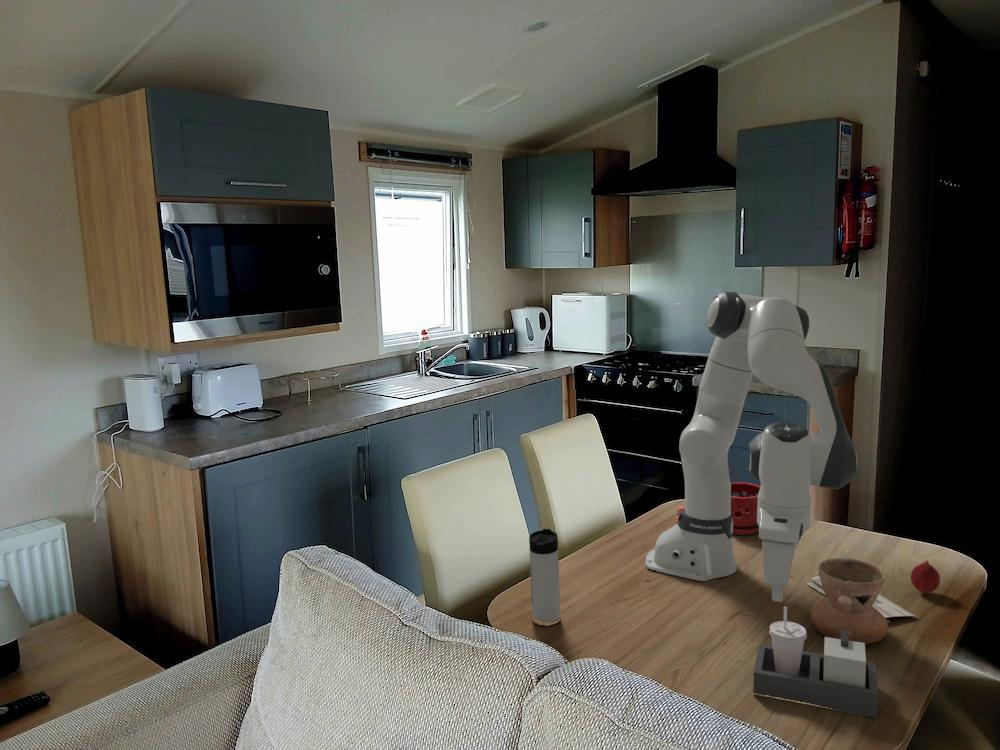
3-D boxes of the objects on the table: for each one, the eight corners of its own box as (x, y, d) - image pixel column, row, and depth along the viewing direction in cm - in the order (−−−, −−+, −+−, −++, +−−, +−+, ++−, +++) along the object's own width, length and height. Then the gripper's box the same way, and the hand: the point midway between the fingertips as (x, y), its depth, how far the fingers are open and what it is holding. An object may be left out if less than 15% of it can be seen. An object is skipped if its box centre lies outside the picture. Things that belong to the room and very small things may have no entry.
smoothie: (762, 669, 142) (763, 600, 140) (795, 666, 143) (796, 597, 140) (778, 689, 136) (779, 617, 133) (812, 685, 136) (814, 613, 134)
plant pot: (719, 519, 222) (720, 480, 220) (767, 523, 217) (767, 483, 215) (713, 535, 210) (713, 494, 208) (763, 540, 205) (764, 498, 203)
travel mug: (563, 614, 169) (561, 529, 166) (556, 628, 163) (553, 540, 160) (537, 611, 171) (533, 527, 168) (528, 625, 165) (525, 538, 162)
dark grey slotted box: (753, 695, 136) (754, 643, 134) (761, 649, 151) (762, 603, 149) (876, 718, 128) (879, 664, 126) (872, 668, 143) (874, 619, 141)
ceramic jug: (882, 663, 144) (886, 593, 142) (802, 643, 152) (805, 577, 150) (891, 623, 159) (895, 560, 157) (818, 607, 167) (821, 546, 165)
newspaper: (803, 585, 179) (804, 575, 178) (848, 583, 181) (849, 574, 181) (869, 631, 157) (870, 619, 157) (919, 628, 160) (920, 617, 159)
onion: (943, 600, 168) (945, 566, 166) (914, 598, 169) (916, 565, 167) (933, 588, 173) (935, 555, 172) (906, 587, 174) (908, 554, 173)
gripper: (770, 494, 144) (767, 562, 146) (757, 533, 126) (754, 610, 128) (806, 498, 141) (802, 568, 143) (798, 538, 123) (794, 617, 125)
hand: (780, 588), depth 136 cm, fingers open, 8 cm apart
